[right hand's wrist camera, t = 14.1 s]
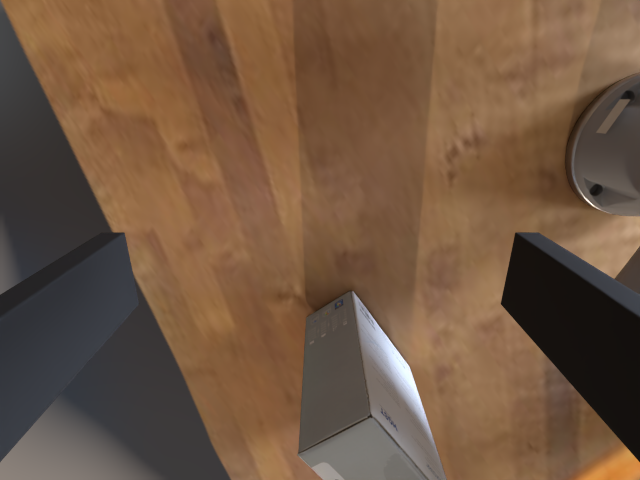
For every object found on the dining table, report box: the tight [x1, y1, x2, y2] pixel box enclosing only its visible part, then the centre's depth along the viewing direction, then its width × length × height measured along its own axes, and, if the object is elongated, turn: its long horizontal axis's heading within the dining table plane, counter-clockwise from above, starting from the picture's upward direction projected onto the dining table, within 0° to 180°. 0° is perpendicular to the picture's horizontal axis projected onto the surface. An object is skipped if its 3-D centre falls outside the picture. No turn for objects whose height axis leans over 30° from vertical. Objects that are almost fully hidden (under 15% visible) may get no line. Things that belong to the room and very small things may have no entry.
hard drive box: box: [297, 291, 447, 480], centre depth 41 cm, size 16×8×20 cm, turn 35°
